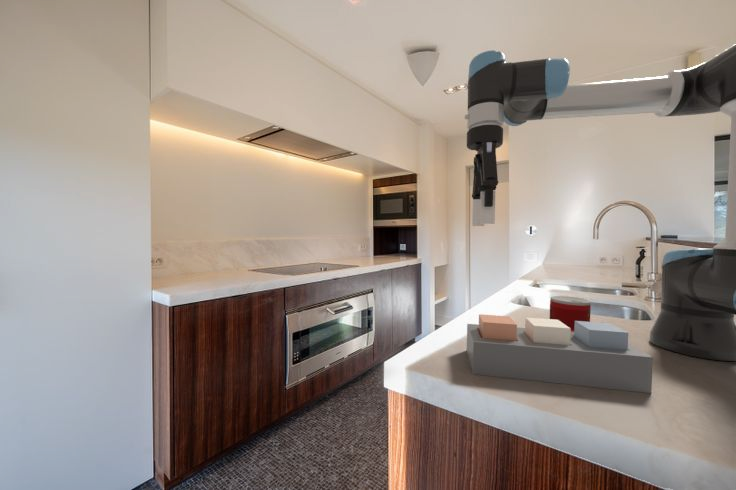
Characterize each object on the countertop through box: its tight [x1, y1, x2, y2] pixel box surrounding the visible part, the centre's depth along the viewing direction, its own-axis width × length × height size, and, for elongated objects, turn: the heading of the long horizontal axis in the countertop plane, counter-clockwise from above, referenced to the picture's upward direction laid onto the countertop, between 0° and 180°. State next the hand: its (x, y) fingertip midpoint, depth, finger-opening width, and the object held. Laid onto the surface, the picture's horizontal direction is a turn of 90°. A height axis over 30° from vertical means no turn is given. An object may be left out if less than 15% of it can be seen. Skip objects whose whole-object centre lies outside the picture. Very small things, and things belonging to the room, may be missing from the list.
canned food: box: [549, 295, 591, 332], centre depth 73 cm, size 8×8×11 cm
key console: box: [466, 323, 654, 394], centre depth 59 cm, size 28×12×6 cm, turn 77°
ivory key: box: [524, 317, 571, 345], centre depth 59 cm, size 6×6×5 cm
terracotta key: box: [478, 314, 518, 341], centre depth 61 cm, size 6×6×5 cm
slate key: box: [574, 321, 629, 350], centre depth 57 cm, size 6×6×5 cm
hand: (482, 225), depth 68 cm, fingers open, 13 cm apart
